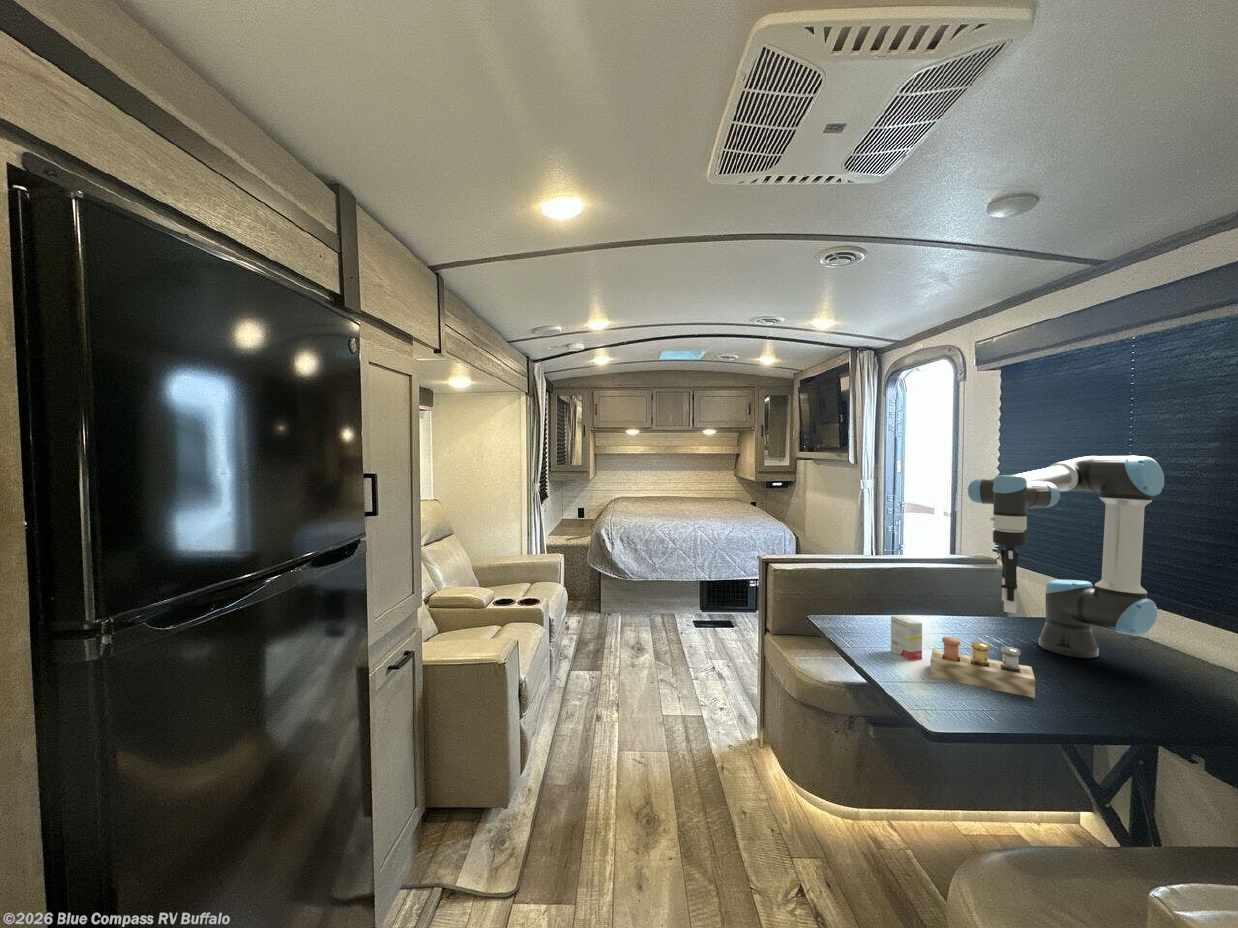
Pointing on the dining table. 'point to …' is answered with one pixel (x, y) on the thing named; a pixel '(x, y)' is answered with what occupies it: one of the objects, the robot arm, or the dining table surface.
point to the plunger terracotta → (951, 648)
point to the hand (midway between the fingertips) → (1008, 606)
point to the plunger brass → (980, 653)
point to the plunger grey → (1010, 659)
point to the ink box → (906, 637)
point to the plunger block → (983, 674)
